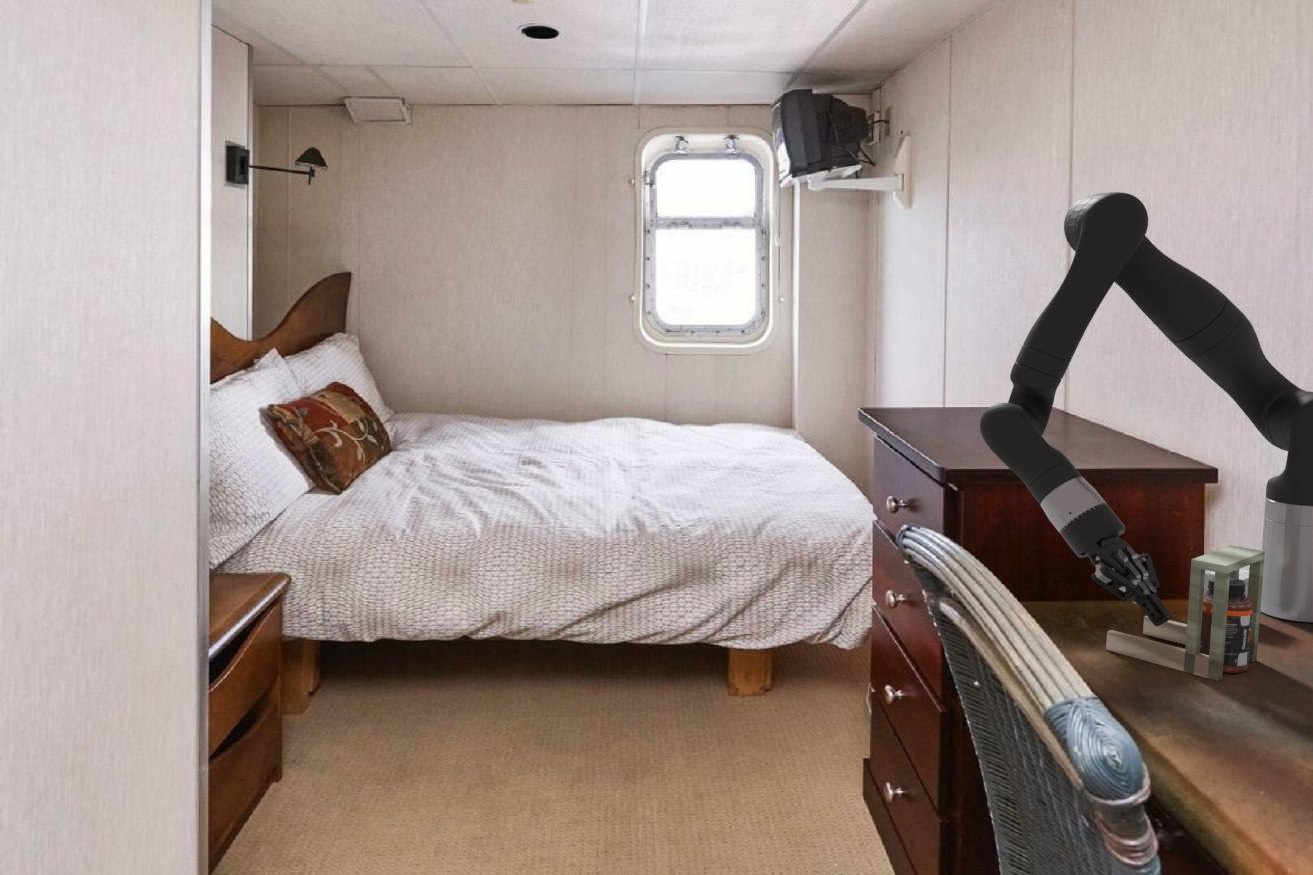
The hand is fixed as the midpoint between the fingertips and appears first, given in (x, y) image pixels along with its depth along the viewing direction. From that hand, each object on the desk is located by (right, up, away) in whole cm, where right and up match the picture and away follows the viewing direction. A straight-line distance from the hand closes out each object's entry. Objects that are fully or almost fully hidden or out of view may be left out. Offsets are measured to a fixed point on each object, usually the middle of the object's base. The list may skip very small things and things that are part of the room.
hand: (1165, 622), depth 126 cm
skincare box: (+16, -2, +13) cm, 21 cm away
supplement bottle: (+4, -5, -5) cm, 8 cm away
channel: (+1, -4, -1) cm, 4 cm away
